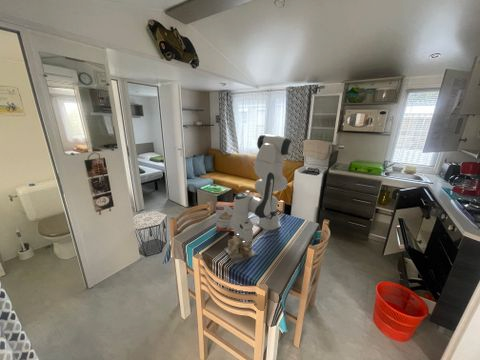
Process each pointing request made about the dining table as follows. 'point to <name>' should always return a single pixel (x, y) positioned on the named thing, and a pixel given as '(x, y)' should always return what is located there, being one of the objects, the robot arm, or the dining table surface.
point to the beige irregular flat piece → (237, 245)
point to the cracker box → (224, 215)
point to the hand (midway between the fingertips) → (240, 240)
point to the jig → (241, 253)
